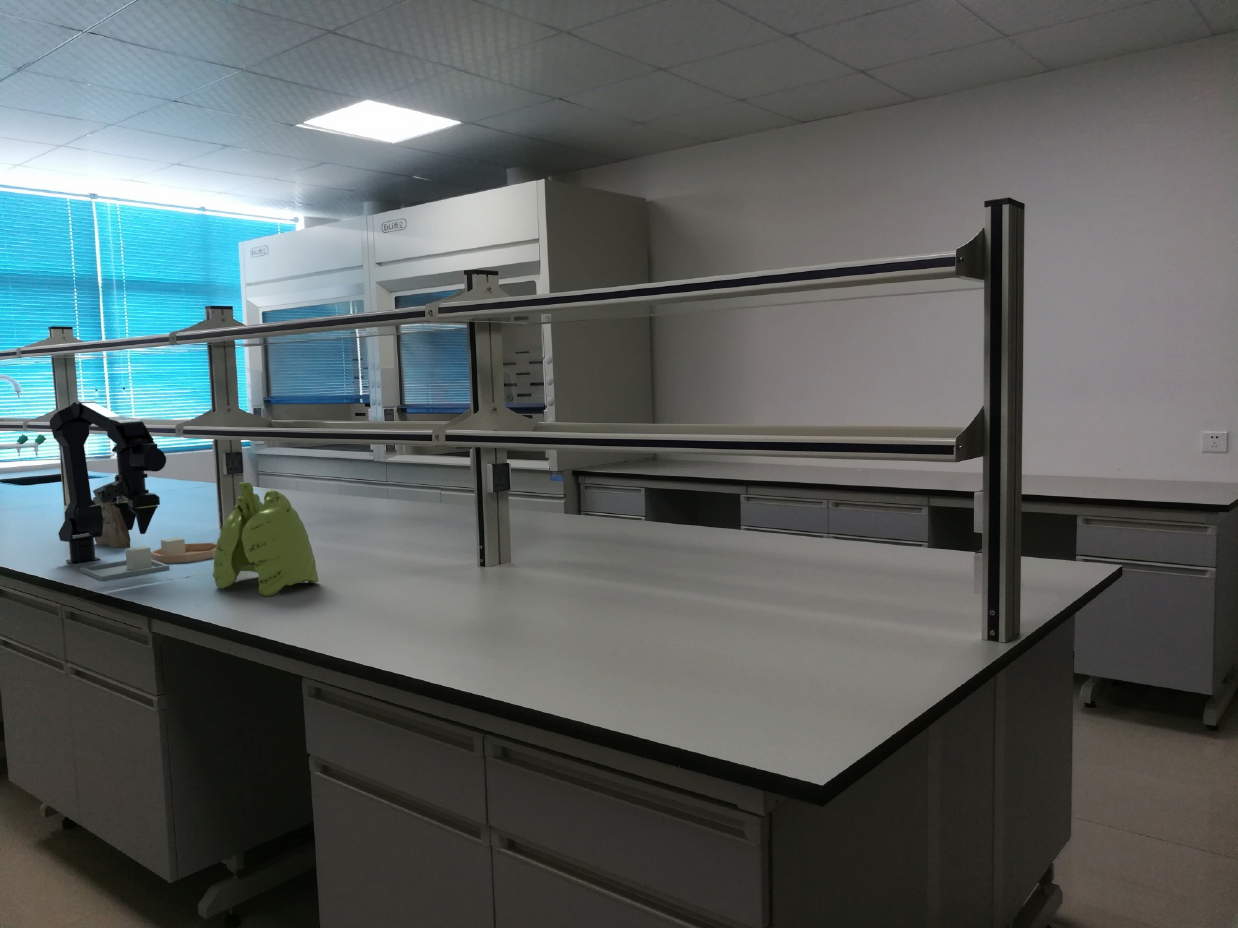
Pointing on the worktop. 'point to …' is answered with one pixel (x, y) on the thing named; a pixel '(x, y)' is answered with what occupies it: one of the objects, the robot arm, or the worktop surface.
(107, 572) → the parts tray
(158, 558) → the bowl
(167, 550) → the block
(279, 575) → the lungs
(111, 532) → the mineral sample
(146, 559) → the block
